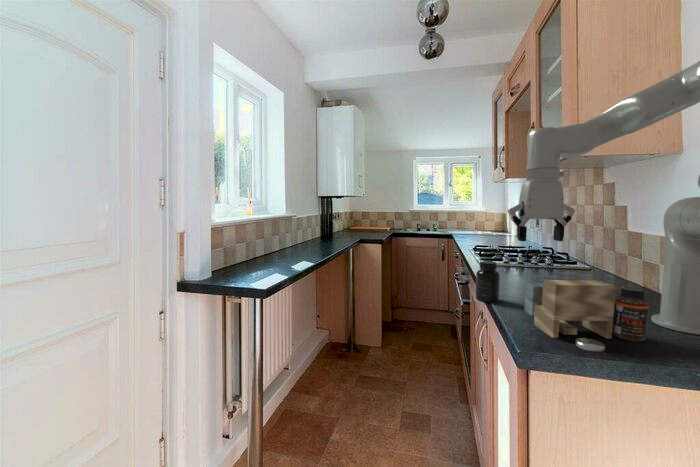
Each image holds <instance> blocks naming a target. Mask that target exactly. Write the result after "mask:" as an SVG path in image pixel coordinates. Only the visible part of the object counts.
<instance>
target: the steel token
mask: <svg viewBox="0 0 700 467" xmlns="http://www.w3.org/2000/svg"><path fill="white" fill-rule="evenodd" d="M575 346H576V347H578V348H579V349H582V350H585V351H589V352H594V353H595V352H596V353H600V352H601V353H602V352H605V350H606V344H604V343H603V342H602V341H599V340H596V339H592V338H587V337H578V338H576V339H575Z"/></svg>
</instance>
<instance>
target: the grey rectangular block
mask: <svg viewBox="0 0 700 467" xmlns="http://www.w3.org/2000/svg"><path fill="white" fill-rule="evenodd" d="M542 296H543V283H540V282H539V283H537V282H536V283H535V282H533V283H532V282H531V283H527V282H526V283H525V290H524V306H523V307H524V309H523V310H524V312H525V313H526V314H527V315H529V316H531V317H534V316H535V305H542ZM559 333H560V334H562V335H563V336H564V335H566V336H567V335H569V336H570V335H571V336H572V335H573V336H574V335H575V336H576V335H578V328H577V327H576V326H573V325H572V324H570V323H568V322H567V321H564V320H559Z"/></svg>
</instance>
